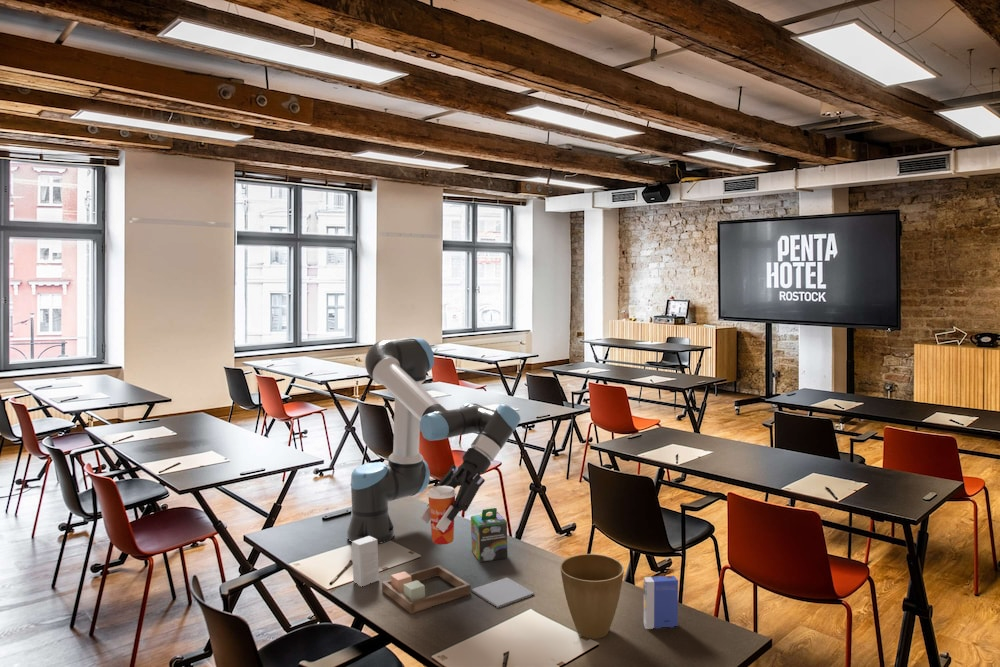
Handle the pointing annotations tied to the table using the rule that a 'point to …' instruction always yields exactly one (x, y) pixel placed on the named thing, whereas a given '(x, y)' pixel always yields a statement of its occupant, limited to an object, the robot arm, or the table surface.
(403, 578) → the terracotta block
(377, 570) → the skincare box
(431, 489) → the paper cup
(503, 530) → the chalk box
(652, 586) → the blue carton
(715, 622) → the table surface
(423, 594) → the sage block
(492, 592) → the grey pad
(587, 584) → the plant pot
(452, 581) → the walnut frame
